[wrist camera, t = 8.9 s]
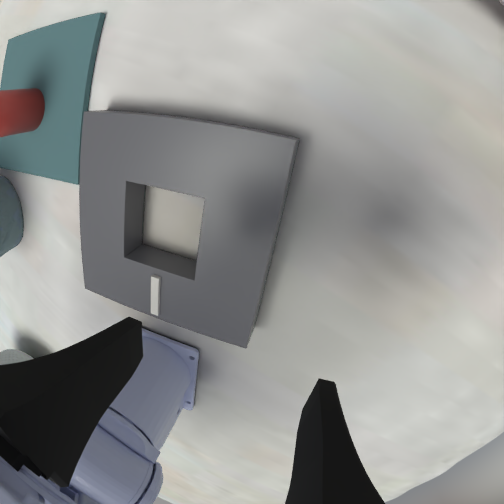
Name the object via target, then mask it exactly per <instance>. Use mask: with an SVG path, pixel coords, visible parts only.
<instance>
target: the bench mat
mask: <svg viewBox="0 0 504 504" xmlns="http://www.w3.org/2000/svg"><path fill="white" fill-rule="evenodd" d="M104 18H105V14H104V13H96V14H91V15H87V16H82V17H78V18H74V19H70V20H67V21H63V22H59V23H56V24H52V25H49V26H46V27H43V28H40V29H37V30H34V31H31V32H28V33H25V34H22V35H20V36H17V37H14V38H12V39H9V40H8V45H7V50H6V55H5V60H4V66H3V73H2V80H1V87H0V91H1V90H13V89H30V88H37V89H39V90H40V91H41V92H42V94H43V96H44V101H45V110H44V116H43V119H42V121H41V124H40V125H39V127H38V128H37V129H36V130H34V131H31V132H25V133H20V134H15V135H10V136H5V137H0V168H4V169H9V170H14V171H19V172H23V173H28V174H32V175H37V176H42V177H46V178H51V179H55V180H60V181H64V182H69V183H73V184H77V185H79V184H80V154H81V138H82V126H83V115H84V111H88V103H89V95H90V88H91V81H92V75H93V69H94V64H95V58H96V53H97V48H98V43H99V39H100V34H101V30H102V26H103V22H104Z"/></svg>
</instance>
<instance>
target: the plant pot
mask: <svg viewBox="0 0 504 504" xmlns="http://www.w3.org/2000/svg"><path fill="white" fill-rule="evenodd" d="M22 237H23V216H22V210H21V205H20V201H19V198H18V195H17V193H16V191H15V189H14V187H13V185H12V184H11V182H10V181H9V180H8V179H7V178H5V177H3V176H0V257H1V256H2V255H3V254H5V253H6V252H8V251H9V250H11V249H12V248H14V247H15V246H17V245H18V244H19V242H20V241H21V238H22Z"/></svg>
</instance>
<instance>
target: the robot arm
mask: <svg viewBox="0 0 504 504" xmlns="http://www.w3.org/2000/svg"><path fill="white" fill-rule="evenodd" d="M192 356H193V357H192ZM198 359H199V351H198V350H197V349H195V348H193V347H190V346H188V345H185V344H182V343H179V342H177V341H174V340H171V339H169V338H166V337H163V336H161V335H158V334H156V333H153V332H151V331H148V330H146V329H143V328H142V322H141V321H138V320H136V319H133V318H131V317H128V318H126V319H124V320H122V321H120V322H118V323H116V324H114V325H112V326H111V327H109V328H107V329H105V330H103V331H101V332H99V333H97V334H95V335H93V336H91V337H89V338H87V339H85V340H83V341H81V342H79V343H77V344H74V345H72V346H70V347H68V348H65V349H63V350H60V351H58V352H55V353H52V354H49V355H46V356H43V357H39V358H35V359H31V360H27V361H23V362H17V363H12V364H4V365H0V504H153V502H154V501H155V499H156V497H157V496H158V494H159V492H160V489H161V486H162V483H163V473H162V467H161V465H160V464H159V463H158V462H156V460H157V458H158V456H159V454H160V451H159V450H160V449H161V447H162V446H163V444H164V443H165V441H166V439H167V437H168V435H169V433H170V431H171V429H172V427H173V426H174V424H175V422H176V420H177V418H178V416H179V414H180V412H181V410H182V408H184V409H187V410H192V409H193V407H194V397H195V387H196V377H197V368H198ZM285 504H385V503H384V501H383V500H382V498H381V496H380V495H379V493H378V492H377V490H376V489H375V487H374V486H373V484H372V482H371V480H370V478H369V477H368V475H367V473H366V471H365V469H364V467H363V465H362V463H361V461H360V458H359V456H358V454H357V452H356V449H355V447H354V444H353V441H352V439H351V436H350V433H349V430H348V427H347V424H346V421H345V418H344V415H343V411H342V408H341V404H340V401H339V397H338V393H337V388H336V384H335V383H334V382H332V381H328V380H323V379H318V381H317V383H316V385H315V387H314V389H313V391H312V393H311V395H310V396H309V398H308V400H307V402H306V404H305V406H304V407H303V410H302V414H301V418H300V422H299V427H298V431H297V439H296V447H295V455H294V463H293V470H292V478H291V483H290V488H289V492H288V495H287V499H286V502H285Z"/></svg>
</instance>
